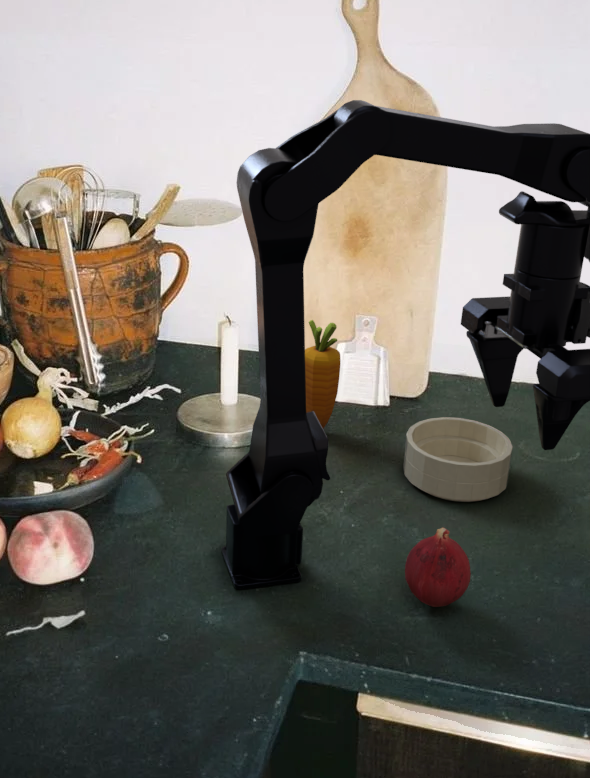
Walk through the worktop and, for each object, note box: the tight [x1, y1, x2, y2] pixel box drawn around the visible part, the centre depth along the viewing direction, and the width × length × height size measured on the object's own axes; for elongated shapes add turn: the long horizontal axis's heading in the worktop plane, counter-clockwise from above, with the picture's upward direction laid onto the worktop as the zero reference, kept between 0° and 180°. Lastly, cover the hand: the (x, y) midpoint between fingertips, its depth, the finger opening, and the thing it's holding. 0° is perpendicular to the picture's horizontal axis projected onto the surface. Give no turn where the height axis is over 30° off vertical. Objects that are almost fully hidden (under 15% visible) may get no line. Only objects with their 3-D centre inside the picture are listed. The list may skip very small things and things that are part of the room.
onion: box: [404, 527, 472, 608], centre depth 84 cm, size 6×6×8 cm
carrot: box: [305, 319, 341, 430], centre depth 114 cm, size 5×5×15 cm
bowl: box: [402, 416, 514, 503], centre depth 106 cm, size 12×12×5 cm
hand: (522, 426), depth 89 cm, fingers open, 9 cm apart
